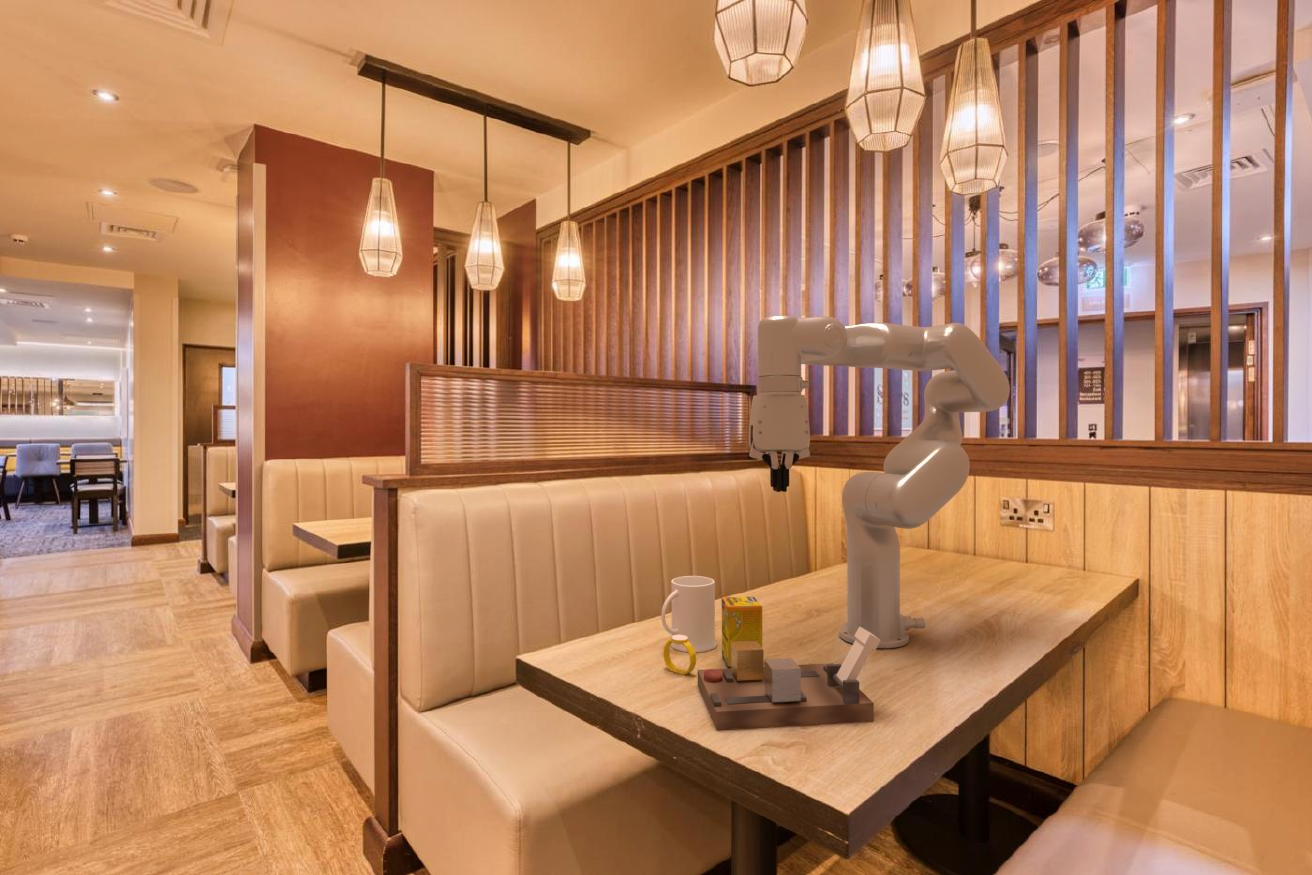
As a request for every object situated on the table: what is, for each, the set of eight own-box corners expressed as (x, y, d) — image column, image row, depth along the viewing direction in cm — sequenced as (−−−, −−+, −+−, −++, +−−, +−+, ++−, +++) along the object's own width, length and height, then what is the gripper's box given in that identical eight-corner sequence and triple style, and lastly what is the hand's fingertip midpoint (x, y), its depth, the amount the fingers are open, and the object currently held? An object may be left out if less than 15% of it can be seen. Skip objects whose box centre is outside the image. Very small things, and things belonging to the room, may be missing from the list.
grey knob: (791, 689, 94) (791, 657, 94) (800, 700, 90) (800, 668, 90) (764, 690, 93) (764, 659, 93) (772, 702, 89) (772, 669, 89)
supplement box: (721, 658, 114) (720, 596, 114) (754, 657, 115) (754, 595, 114) (727, 671, 108) (727, 606, 108) (763, 670, 109) (762, 604, 109)
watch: (698, 675, 108) (700, 640, 107) (688, 680, 106) (690, 644, 105) (669, 664, 111) (671, 630, 111) (659, 669, 109) (661, 634, 109)
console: (832, 678, 105) (832, 644, 105) (873, 720, 90) (873, 681, 90) (697, 685, 103) (697, 650, 102) (716, 730, 88) (716, 689, 88)
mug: (674, 660, 114) (673, 591, 113) (647, 646, 121) (646, 582, 121) (725, 646, 120) (725, 581, 120) (697, 634, 127) (696, 573, 127)
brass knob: (756, 669, 101) (756, 640, 101) (763, 679, 98) (763, 649, 97) (731, 670, 101) (731, 641, 101) (737, 680, 97) (737, 650, 97)
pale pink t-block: (839, 683, 95) (868, 631, 96) (852, 696, 91) (882, 641, 91) (829, 677, 95) (858, 625, 95) (841, 690, 91) (871, 635, 91)
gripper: (813, 388, 120) (813, 488, 120) (733, 388, 118) (733, 489, 119) (828, 386, 112) (828, 492, 113) (743, 386, 111) (743, 494, 111)
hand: (779, 490), depth 116 cm, fingers closed
